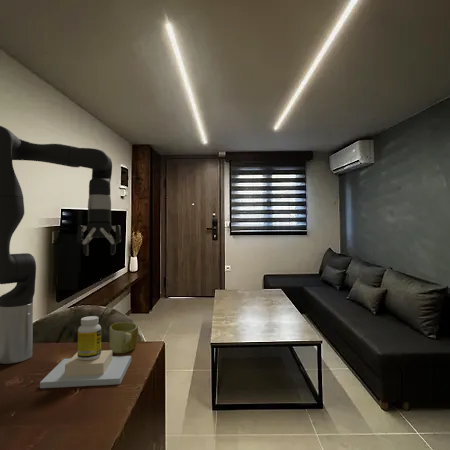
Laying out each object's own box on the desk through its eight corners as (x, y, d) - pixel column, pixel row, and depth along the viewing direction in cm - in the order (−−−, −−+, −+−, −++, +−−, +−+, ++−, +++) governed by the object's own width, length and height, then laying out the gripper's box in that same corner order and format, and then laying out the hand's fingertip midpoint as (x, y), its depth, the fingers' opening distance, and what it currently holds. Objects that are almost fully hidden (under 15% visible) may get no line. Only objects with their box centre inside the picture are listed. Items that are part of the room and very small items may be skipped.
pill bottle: (101, 359, 90) (101, 319, 91) (76, 362, 88) (77, 321, 88) (101, 352, 96) (101, 314, 96) (78, 354, 94) (78, 316, 94)
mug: (103, 340, 114) (112, 314, 114) (132, 346, 118) (141, 321, 117) (101, 360, 103) (111, 331, 102) (132, 365, 106) (143, 337, 106)
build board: (39, 388, 83) (40, 370, 83) (64, 363, 99) (64, 348, 99) (120, 384, 85) (120, 366, 85) (131, 360, 101) (131, 345, 101)
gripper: (122, 209, 118) (122, 254, 117) (82, 209, 116) (81, 254, 116) (118, 207, 110) (118, 255, 110) (74, 207, 109) (74, 256, 108)
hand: (99, 255), depth 113 cm, fingers open, 8 cm apart
